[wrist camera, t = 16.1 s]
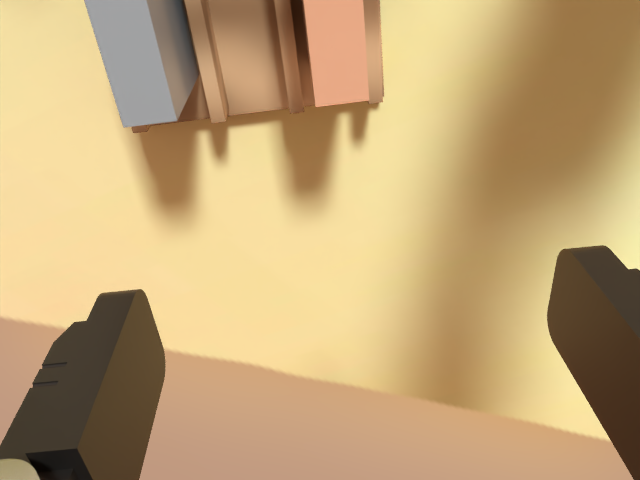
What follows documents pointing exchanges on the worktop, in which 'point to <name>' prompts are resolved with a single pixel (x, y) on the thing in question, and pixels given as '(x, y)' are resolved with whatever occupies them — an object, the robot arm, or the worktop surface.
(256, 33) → the dish rack
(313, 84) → the terracotta plate
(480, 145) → the worktop surface
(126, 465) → the robot arm
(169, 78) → the slate grey rectangular block
